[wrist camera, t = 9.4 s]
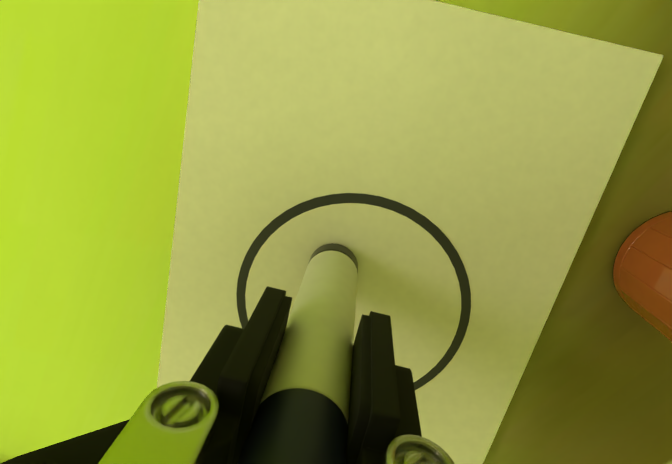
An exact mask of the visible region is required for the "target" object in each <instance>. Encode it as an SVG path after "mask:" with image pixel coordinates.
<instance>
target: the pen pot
mask: <svg viewBox="0 0 672 464" xmlns="http://www.w3.org/2000/svg"><path fill="white" fill-rule="evenodd" d="M613 279H614V284H615V287H616V290H617V292H618V294H619V296H620V297H621V299H622V300H623V301H624V302H625V303H626V304H627V305H628V306H629V307H630V308H631V309H632V310H634V311H635V312H636V313H637V314H639V315H640V316H641V317H642V318H643V319H645V320H646V321H647V322H648V323H650V324H651V325H652V326H653V327H654V328H656V329H657V330H658V331H659V332H661V333H662V334H663V335H664V336H665V337H667V338H668V339H669V340H670V341H672V211H671V212H667V213H664V214H661V215H658V216H656V217H654V218H652V219H650V220H648V221H646V222H645V223H643V224H642V225H640V226H639V227H638V228H637V229H636V230H634V231H633V232H632V233H631V234H630V235H629V236H628V237H627V239H626V240H625V241H624V243H623V244H622V246H621V247H620V249H619V251H618V253H617V256H616V258H615V262H614V268H613Z"/></svg>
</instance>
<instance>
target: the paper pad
mask: <svg viewBox="0 0 672 464" xmlns="http://www.w3.org/2000/svg"><path fill="white" fill-rule="evenodd" d="M662 59H663V55H660V54H656V53H652V52H648V51H644V50H639V49H635V48H631V47H627V46H623V45H618V44H614V43H610V42H606V41H602V40H598V39H593V38H589V37H585V36H581V35H577V34H572V33H568V32H564V31H560V30H556V29H552V28H547V27H543V26H539V25H535V24H531V23H527V22H522V21H518V20H514V19H510V18H506V17H501V16H497V15H493V14H489V13H485V12H481V11H476V10H472V9H468V8H464V7H460V6H455V5H451V4H447V3H443V2H439V1H435V0H199V4H198V14H197V23H196V32H195V41H194V50H193V60H192V69H191V78H190V87H189V96H188V106H187V115H186V124H185V133H184V142H183V152H182V161H181V170H180V179H179V189H178V198H177V207H176V216H175V225H174V235H173V244H172V253H171V262H170V271H169V281H168V290H167V299H166V308H165V318H164V327H163V336H162V345H161V354H160V364H159V373H158V382H157V388H158V387H160V386H161V385H164V384H167V383H171V382H176V381H190V380H191V378H192V376H193V375H194V373H195V372H196V370H197V368H198V367H199V365H200V364H201V362H202V360H203V359H204V357H205V356H206V354H207V352H208V351H209V349H210V348H211V346H212V344H213V343H214V341H215V340H216V338H217V336H218V335H219V333H220V332H221V330H222V328H223V327H224V326H225V325H231V326H235V327H239V328H243V329H244V328H245V327H246V325H247V323H248V321H249V319H250V317H251V315H252V313H253V311H254V310H255V308H256V306H257V304H258V302H259V300H260V298H261V296H262V294H263V293H264V291H265V289H266V287H267V286H268V287H273V288H277V289H281V290H285V291H286V296H288V297H292V302H291V307H290V312H289V316H290V314H291V311H292V308H293V305H294V302H295V300H296V297H297V294H298V291H299V288H300V286H301V283H302V280H303V277H304V274H305V272H306V269H307V266H308V263H309V260H310V258H311V255H312V254H313V252H314V251H315V250H316V249H317V248H319V247H321V246H323V245H325V244H331V243H334V244H340V245H343V246H345V247H347V248H348V249H350V250H351V251H352V252H353V254H354V255H355V257H356V259H357V262H358V276H357V293H356V309H355V326H354V341H355V337H356V334H357V330H358V327H359V323H360V320H361V316H362V314H363V315H367V316H369V314H370V312H371V311H373V312H377V313H381V314H385V315H389V316H390V317H391V327H392V337H393V347H394V358H395V365H397V366H402V367H406V368H410V369H411V371H412V376H413V382H414V389H415V395H416V402H417V408H418V415H419V421H420V427H421V434H422V437H424V438H427V439H429V440H431V441H432V442H434V443H436V444H437V445H439V446H440V447H441V448H442V449H443V450H444V451H445V452H447V453H448V455H449V456H450V458H451V459H452V460H453V462H454V464H483V462H484V460H485V458H486V456H487V453H488V451H489V449H490V447H491V444H492V442H493V440H494V438H495V435H496V433H497V431H498V429H499V426H500V424H501V422H502V420H503V417H504V415H505V413H506V410H507V408H508V406H509V404H510V401H511V399H512V397H513V395H514V392H515V390H516V388H517V386H518V383H519V381H520V379H521V377H522V374H523V372H524V370H525V368H526V365H527V363H528V361H529V359H530V356H531V354H532V352H533V350H534V347H535V345H536V343H537V341H538V338H539V336H540V334H541V332H542V329H543V327H544V325H545V323H546V320H547V318H548V316H549V314H550V311H551V309H552V307H553V304H554V302H555V300H556V298H557V295H558V293H559V291H560V289H561V286H562V284H563V282H564V280H565V277H566V275H567V273H568V271H569V268H570V266H571V264H572V262H573V259H574V257H575V255H576V253H577V250H578V248H579V246H580V244H581V241H582V239H583V237H584V235H585V232H586V230H587V228H588V226H589V223H590V221H591V219H592V217H593V214H594V212H595V210H596V208H597V205H598V203H599V201H600V198H601V196H602V194H603V192H604V189H605V187H606V185H607V183H608V180H609V178H610V176H611V174H612V171H613V169H614V167H615V165H616V162H617V160H618V158H619V156H620V153H621V151H622V149H623V147H624V144H625V142H626V140H627V138H628V135H629V133H630V131H631V129H632V126H633V124H634V122H635V120H636V117H637V115H638V113H639V111H640V108H641V106H642V104H643V102H644V99H645V97H646V95H647V92H648V90H649V88H650V86H651V83H652V81H653V79H654V77H655V74H656V72H657V70H658V68H659V65H660V63H661V61H662ZM289 316H288V319H289ZM287 322H288V321H287ZM353 344H354V343H353Z"/></svg>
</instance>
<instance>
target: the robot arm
mask: <svg viewBox="0 0 672 464" xmlns="http://www.w3.org/2000/svg"><path fill="white" fill-rule="evenodd" d="M291 302H292V297H288V296H286V291H285V290H281V289H277V288H273V287H268V286H267V287H266V289H265V291H264V293H263V294H262V296H261V298H260V300H259V302H258V304H257V306H256V308H255V310H254V311H253V313H252V315H251V317H250V319H249V321H248V323H247V325H246V327H245V328H244V329H243V328H239V327H235V326H231V325H225V326H224V327H223V328H222V330H221V332H220V333H219V335H218V336H217V338H216V340H215V341H214V343H213V344H212V346H211V348H210V349H209V351H208V352H207V354H206V356H205V357H204V359H203V360H202V362H201V364H200V365H199V367H198V368H197V370H196V372H195V373H194V375H193V376H192V378H191V380H190V381H176V382H171V383H167V384H164V385H161V386H160V387H158V388H156V389H154V390H153V391H152V392H151V393H150V394H149V395H148V396H147V397H146V398H145V399H144V401H143V402H142V403H141V405H140V406H139V408H138V409H137V410H136V412H135V413H134V415H133V416H132V417H131V419H130V420H127V421H124V422H121V423H118V424H115V425H112V426H108V427H105V428H102V429H99V430H96V431H93V432H90V433H87V434H84V435H81V436H78V437H75V438H72V439H69V440H66V441H63V442H60V443H57V444H54V445H51V446H48V447H45V448H42V449H39V450H36V451H32V452H29V453H26V454H23V455H20V456H17V457H15V458H13V459H10V460H8V461H6V462H3V463H1V464H237V463H238V460H239V457H240V454H241V451H242V449H243V446H244V443H245V441H246V439H247V437H248V435H249V433H250V430H251V427H252V424H253V421H254V418H255V416H256V413H257V410H258V407H259V405H260V401H261V398H262V396H263V393H264V390H265V387H266V384H267V381H268V379H269V376H270V373H271V370H272V367H273V364H274V362H275V359H276V356H277V353H278V350H279V347H280V344H281V342H282V339H283V336H284V333H285V330H286V326H287V321H288V316H289V312H290V307H291ZM346 464H454V462H453V460H452V459H451V458H450V456H449V455H448V453H447V452H445V451H444V450H443V449H442V448H441V447H440V446H439V445H437V444H436V443H434V442H432V441H431V440H429V439H427V438H424V437H422V434H421V427H420V421H419V415H418V408H417V402H416V395H415V389H414V382H413V376H412V371H411V369H410V368H406V367H402V366H397V365H395V358H394V347H393V337H392V327H391V317H390V316H389V315H385V314H381V313H377V312H373V311H371V312H370V314H369V316H367V315H363V314H362V316H361V320H360V323H359V327H358V330H357V334H356V337H355V341H354V344H353V353H352V369H351V385H350V401H349V417H348V433H347V449H346Z"/></svg>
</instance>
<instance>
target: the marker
mask: <svg viewBox="0 0 672 464" xmlns="http://www.w3.org/2000/svg"><path fill="white" fill-rule="evenodd" d="M357 276H358V262H357V259H356V257H355V255H354V254H353V252H352V251H351V250H350V249H348V248H347V247H345V246H343V245H340V244H334V243H331V244H325V245H323V246H321V247H319V248H317V249H316V250H315V251H314V252H313V254H312V255H311V258H310V260H309V263H308V266H307V269H306V272H305V274H304V277H303V280H302V283H301V286H300V288H299V291H298V294H297V297H296V300H295V302H294V305H293V308H292V311H291V314H290V316H289V319H288V322H287V326H286V330H285V333H284V336H283V339H282V342H281V344H280V347H279V350H278V353H277V356H276V359H275V362H274V364H273V367H272V370H271V373H270V376H269V379H268V381H267V384H266V387H265V390H264V393H263V396H262V398H261V401H260V405H259V407H258V410H257V413H256V416H255V418H254V421H253V424H252V427H251V430H250V433H249V435H248V437H247V439H246V441H245V443H244V446H243V449H242V451H241V454H240V457H239V460H238V463H237V464H346V449H347V433H348V417H349V401H350V385H351V369H352V353H353V343H354V326H355V309H356V293H357Z"/></svg>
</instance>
